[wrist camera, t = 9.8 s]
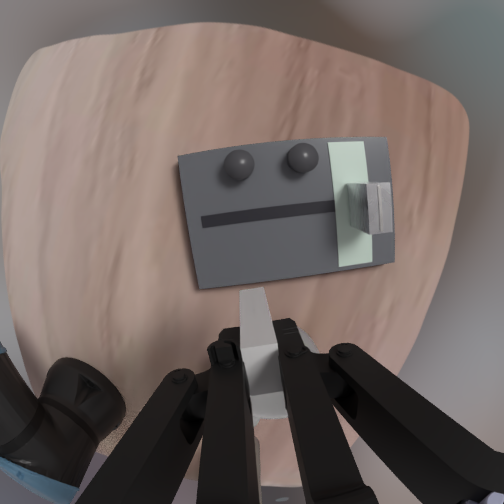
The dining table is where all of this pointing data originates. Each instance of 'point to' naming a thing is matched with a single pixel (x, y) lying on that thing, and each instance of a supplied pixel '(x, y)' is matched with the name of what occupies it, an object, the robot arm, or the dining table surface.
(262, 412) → the teacup
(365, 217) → the fader cap
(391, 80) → the dining table surface
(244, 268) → the console
